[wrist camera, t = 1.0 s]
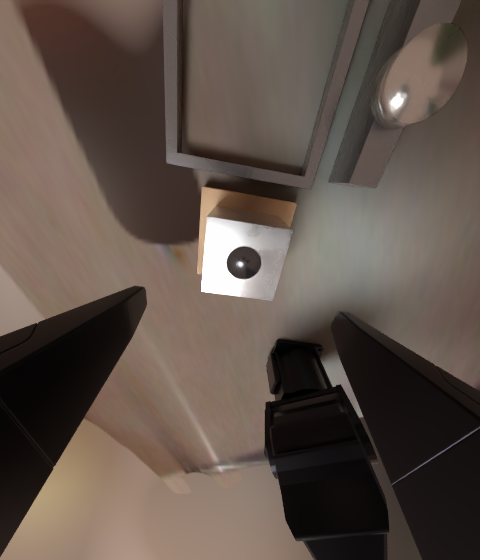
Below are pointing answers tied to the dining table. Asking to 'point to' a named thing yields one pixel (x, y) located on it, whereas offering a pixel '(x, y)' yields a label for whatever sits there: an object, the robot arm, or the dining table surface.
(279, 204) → the stand
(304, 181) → the grey rectangular tray
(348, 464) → the robot arm
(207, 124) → the dining table surface
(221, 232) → the block with dome knob
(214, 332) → the dining table surface
